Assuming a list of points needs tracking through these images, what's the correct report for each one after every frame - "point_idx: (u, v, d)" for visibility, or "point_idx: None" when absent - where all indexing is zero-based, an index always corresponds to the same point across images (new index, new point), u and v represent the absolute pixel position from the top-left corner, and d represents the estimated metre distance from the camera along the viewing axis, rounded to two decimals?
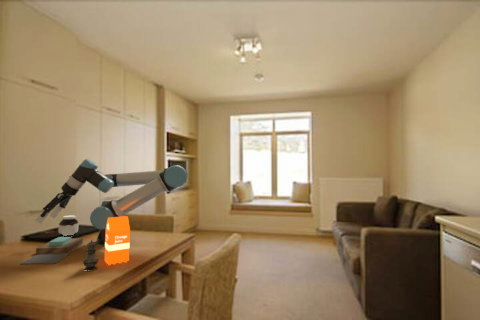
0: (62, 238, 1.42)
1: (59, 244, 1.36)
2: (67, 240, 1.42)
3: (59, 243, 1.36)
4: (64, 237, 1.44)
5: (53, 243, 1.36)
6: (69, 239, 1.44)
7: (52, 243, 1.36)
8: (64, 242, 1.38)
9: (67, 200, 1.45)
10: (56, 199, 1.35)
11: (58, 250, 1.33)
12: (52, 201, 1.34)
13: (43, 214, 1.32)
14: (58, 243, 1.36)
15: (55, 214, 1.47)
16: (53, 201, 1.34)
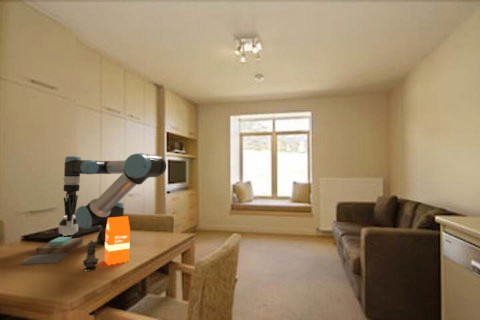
0: (62, 238, 1.42)
1: (59, 244, 1.36)
2: (67, 240, 1.42)
3: (59, 243, 1.36)
4: (64, 237, 1.44)
5: (53, 243, 1.36)
6: (69, 239, 1.44)
7: (52, 243, 1.36)
8: (64, 242, 1.38)
9: (75, 200, 1.53)
10: (67, 203, 1.47)
11: (58, 250, 1.33)
12: (65, 206, 1.47)
13: (68, 218, 1.50)
14: (58, 243, 1.36)
15: None
16: (67, 205, 1.47)
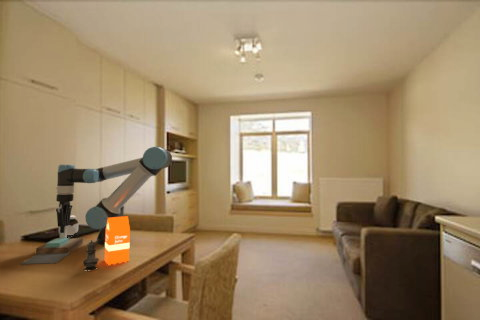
0: (59, 239, 1.40)
1: (56, 246, 1.33)
2: (64, 241, 1.39)
3: (56, 244, 1.33)
4: (61, 238, 1.42)
5: (50, 244, 1.33)
6: (66, 240, 1.41)
7: (49, 244, 1.33)
8: (61, 243, 1.36)
9: (69, 211, 1.46)
10: (59, 214, 1.39)
11: (58, 250, 1.33)
12: (58, 217, 1.39)
13: (62, 230, 1.42)
14: (55, 244, 1.33)
15: None
16: (59, 217, 1.39)
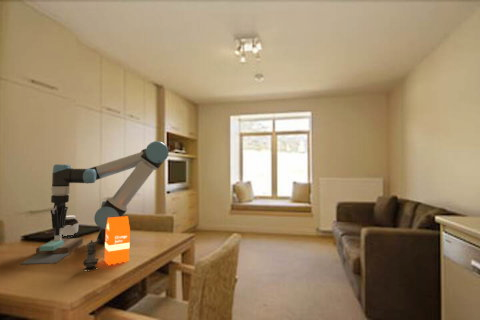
0: (54, 242, 1.34)
1: (50, 249, 1.28)
2: (59, 244, 1.34)
3: (50, 248, 1.28)
4: (56, 241, 1.36)
5: (44, 248, 1.28)
6: (61, 243, 1.36)
7: (42, 248, 1.28)
8: (55, 247, 1.30)
9: (64, 212, 1.41)
10: (54, 215, 1.34)
11: (58, 250, 1.33)
12: (53, 219, 1.34)
13: (56, 232, 1.37)
14: (49, 248, 1.28)
15: None
16: (54, 218, 1.34)
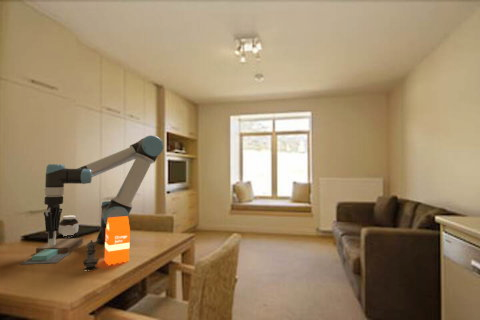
0: (47, 251, 1.29)
1: (43, 258, 1.22)
2: (53, 253, 1.28)
3: (43, 257, 1.22)
4: (50, 250, 1.31)
5: (36, 257, 1.22)
6: (55, 252, 1.30)
7: (35, 257, 1.22)
8: (49, 256, 1.25)
9: (58, 215, 1.34)
10: (47, 218, 1.28)
11: (58, 250, 1.33)
12: (46, 221, 1.28)
13: (50, 235, 1.30)
14: (42, 257, 1.22)
15: None
16: (48, 221, 1.28)
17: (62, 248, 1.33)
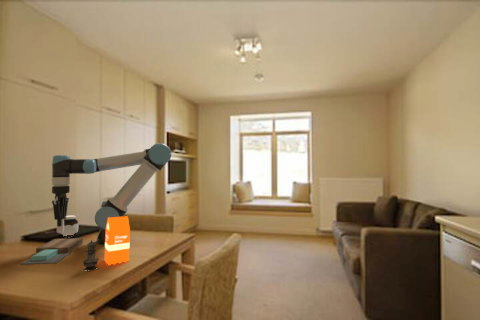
0: (47, 251, 1.29)
1: (43, 258, 1.22)
2: (53, 253, 1.28)
3: (43, 257, 1.22)
4: (50, 250, 1.31)
5: (36, 257, 1.22)
6: (55, 252, 1.30)
7: (35, 257, 1.22)
8: (49, 256, 1.25)
9: (65, 203, 1.41)
10: (56, 206, 1.34)
11: (58, 250, 1.33)
12: (55, 209, 1.34)
13: (59, 223, 1.37)
14: (42, 257, 1.22)
15: None
16: (56, 209, 1.34)
17: (62, 248, 1.33)
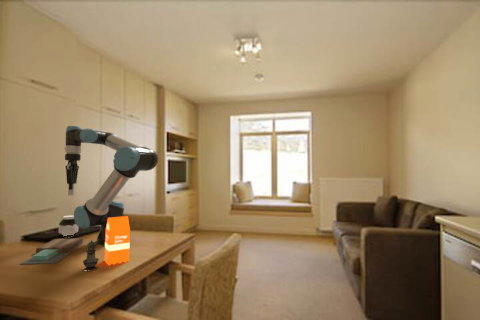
0: (47, 251, 1.29)
1: (43, 258, 1.22)
2: (53, 253, 1.28)
3: (43, 257, 1.22)
4: (50, 250, 1.31)
5: (36, 257, 1.22)
6: (55, 252, 1.30)
7: (35, 257, 1.22)
8: (49, 256, 1.25)
9: (76, 170, 1.56)
10: (68, 171, 1.49)
11: (58, 250, 1.33)
12: (67, 174, 1.50)
13: (70, 186, 1.52)
14: (42, 257, 1.22)
15: None
16: (68, 173, 1.50)
17: (62, 248, 1.33)
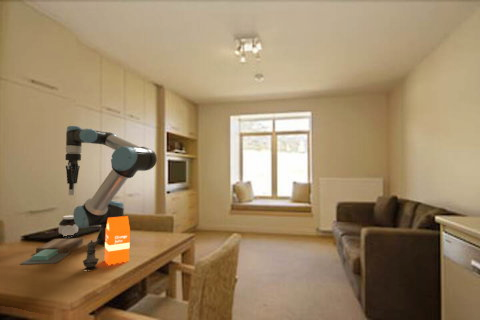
0: (47, 251, 1.29)
1: (43, 258, 1.22)
2: (53, 253, 1.28)
3: (43, 257, 1.22)
4: (50, 250, 1.31)
5: (36, 257, 1.22)
6: (55, 252, 1.30)
7: (35, 257, 1.22)
8: (49, 256, 1.25)
9: (77, 170, 1.57)
10: (69, 171, 1.50)
11: (58, 250, 1.33)
12: (68, 174, 1.50)
13: (71, 186, 1.53)
14: (42, 257, 1.22)
15: None
16: (69, 173, 1.50)
17: (62, 248, 1.33)
